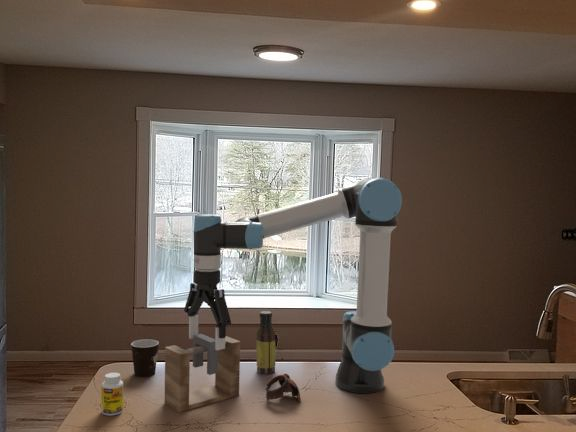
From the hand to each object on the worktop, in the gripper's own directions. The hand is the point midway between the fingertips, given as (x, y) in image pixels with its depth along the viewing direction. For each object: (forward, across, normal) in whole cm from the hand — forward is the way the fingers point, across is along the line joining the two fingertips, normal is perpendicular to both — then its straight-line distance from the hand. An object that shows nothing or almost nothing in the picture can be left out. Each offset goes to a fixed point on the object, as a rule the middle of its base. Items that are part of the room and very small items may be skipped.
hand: (206, 343), depth 160 cm
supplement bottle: (+16, -8, -24) cm, 30 cm away
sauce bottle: (+17, -8, +29) cm, 34 cm away
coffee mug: (+16, -29, -5) cm, 34 cm away
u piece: (+7, 0, 0) cm, 8 cm away
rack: (+16, 0, 0) cm, 16 cm away
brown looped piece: (+17, +13, +18) cm, 28 cm away
